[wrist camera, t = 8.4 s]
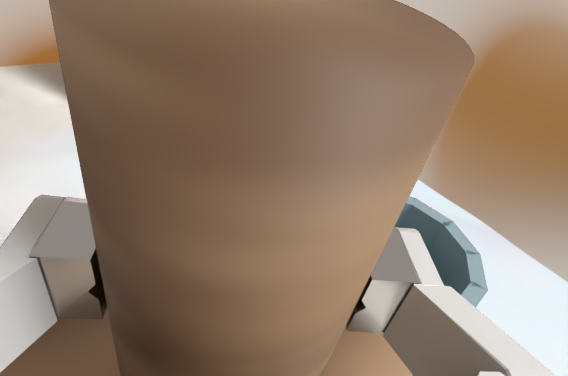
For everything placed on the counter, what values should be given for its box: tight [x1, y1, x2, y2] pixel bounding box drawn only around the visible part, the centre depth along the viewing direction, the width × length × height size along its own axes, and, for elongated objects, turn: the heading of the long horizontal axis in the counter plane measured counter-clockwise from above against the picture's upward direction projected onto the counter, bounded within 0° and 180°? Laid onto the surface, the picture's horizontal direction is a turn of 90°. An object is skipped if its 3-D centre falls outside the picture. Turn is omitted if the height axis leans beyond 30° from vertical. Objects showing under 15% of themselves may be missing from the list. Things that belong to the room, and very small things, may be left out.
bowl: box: [394, 196, 488, 308], centre depth 27 cm, size 12×12×6 cm
